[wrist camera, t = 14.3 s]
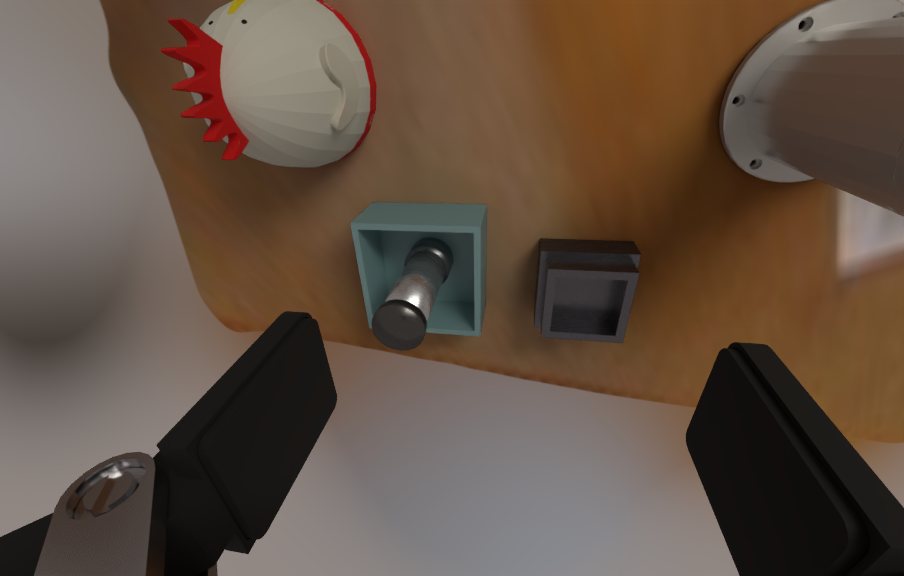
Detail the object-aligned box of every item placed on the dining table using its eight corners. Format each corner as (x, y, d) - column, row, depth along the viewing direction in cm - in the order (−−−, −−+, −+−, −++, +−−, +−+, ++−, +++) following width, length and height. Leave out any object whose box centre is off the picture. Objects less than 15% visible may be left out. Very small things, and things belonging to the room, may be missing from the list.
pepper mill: (417, 230, 41) (376, 295, 30) (459, 247, 41) (434, 318, 30) (405, 267, 43) (363, 338, 32) (444, 283, 43) (416, 360, 32)
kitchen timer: (366, -11, 31) (256, -57, 18) (384, 163, 38) (313, 216, 26) (213, -4, 33) (19, -41, 21) (256, 160, 40) (132, 207, 28)
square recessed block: (633, 241, 38) (648, 267, 33) (616, 316, 43) (627, 348, 38) (540, 238, 39) (541, 262, 35) (533, 311, 44) (534, 341, 39)
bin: (486, 204, 38) (480, 226, 33) (485, 304, 45) (480, 336, 40) (372, 202, 40) (350, 223, 35) (386, 298, 47) (369, 328, 41)
